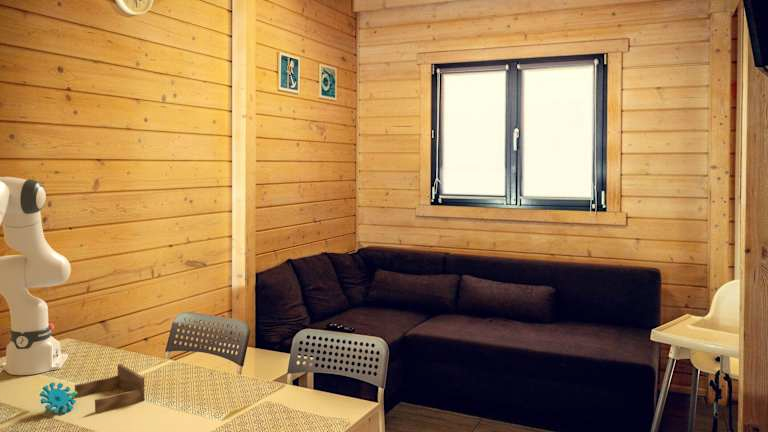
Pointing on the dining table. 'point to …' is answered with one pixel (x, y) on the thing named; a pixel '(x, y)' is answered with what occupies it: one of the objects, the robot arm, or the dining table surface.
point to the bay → (124, 380)
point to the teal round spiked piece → (58, 398)
